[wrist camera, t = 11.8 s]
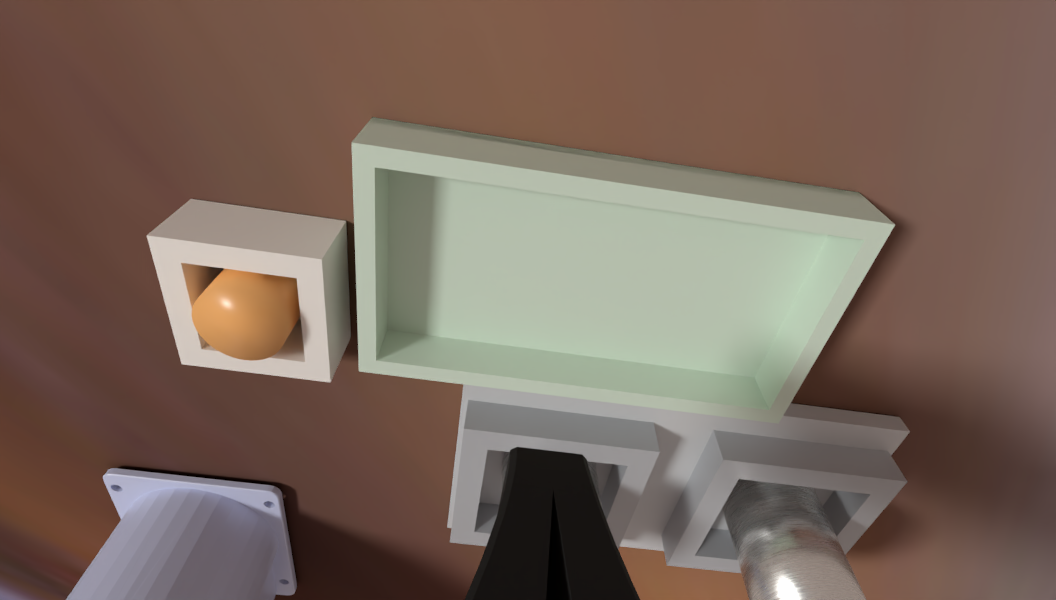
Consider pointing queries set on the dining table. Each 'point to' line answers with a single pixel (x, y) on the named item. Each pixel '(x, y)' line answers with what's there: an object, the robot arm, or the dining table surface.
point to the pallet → (676, 466)
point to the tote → (597, 271)
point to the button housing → (268, 248)
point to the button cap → (247, 313)
